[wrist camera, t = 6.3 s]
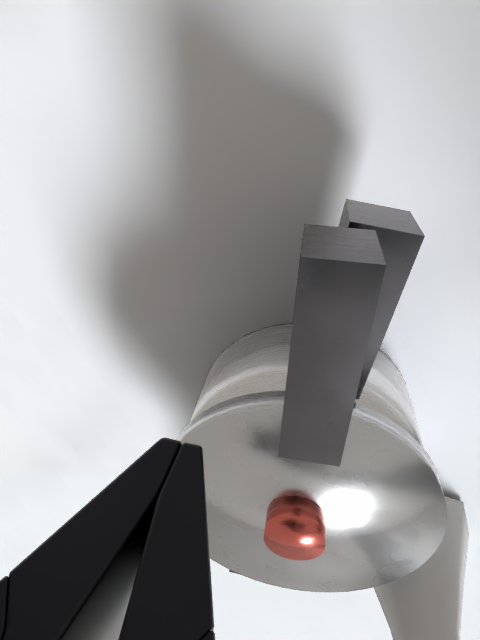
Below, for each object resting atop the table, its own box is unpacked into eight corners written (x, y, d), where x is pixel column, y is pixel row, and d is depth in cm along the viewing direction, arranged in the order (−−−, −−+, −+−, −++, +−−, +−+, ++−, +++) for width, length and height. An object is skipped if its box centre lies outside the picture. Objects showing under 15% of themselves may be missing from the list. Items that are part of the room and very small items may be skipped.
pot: (357, 525, 27) (363, 610, 23) (191, 484, 28) (167, 559, 23) (514, 216, 16) (583, 269, 12) (234, 162, 17) (204, 194, 12)
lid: (404, 590, 20) (412, 650, 18) (175, 545, 22) (159, 596, 20) (558, 245, 11) (612, 286, 9) (146, 211, 13) (111, 238, 11)
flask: (350, 474, 25) (363, 685, 16) (482, 489, 23) (571, 726, 15) (339, 546, 28) (346, 748, 20) (454, 562, 27) (512, 785, 19)
